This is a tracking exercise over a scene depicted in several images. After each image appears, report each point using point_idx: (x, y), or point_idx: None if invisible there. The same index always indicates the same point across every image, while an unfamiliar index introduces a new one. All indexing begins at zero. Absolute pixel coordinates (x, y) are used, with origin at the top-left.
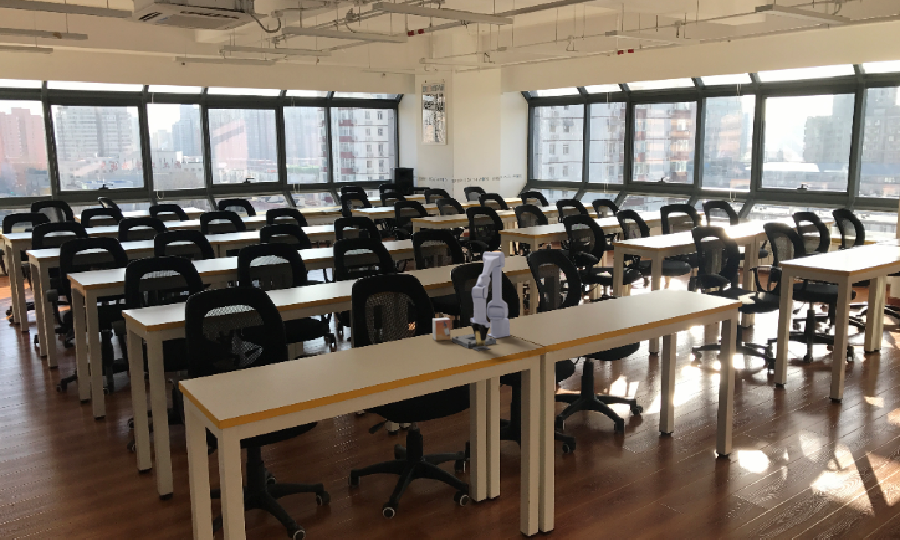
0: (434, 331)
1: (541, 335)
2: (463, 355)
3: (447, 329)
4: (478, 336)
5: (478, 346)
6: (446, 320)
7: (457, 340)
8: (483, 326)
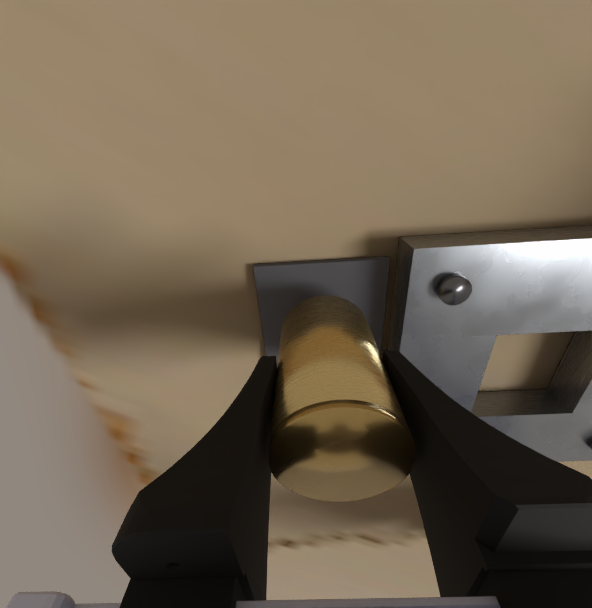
0: None
1: (365, 585)
2: (171, 39)
3: None
4: (295, 369)
5: (370, 326)
6: None
7: None
8: (158, 585)
